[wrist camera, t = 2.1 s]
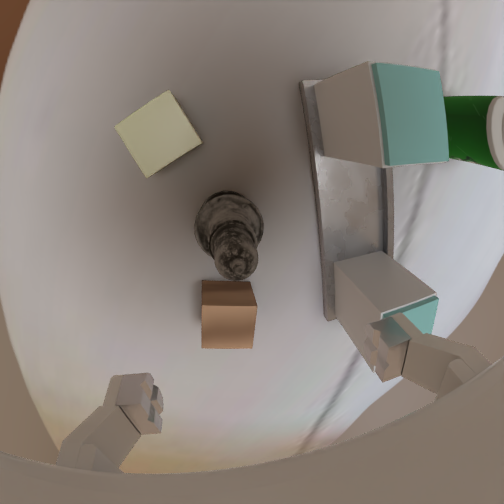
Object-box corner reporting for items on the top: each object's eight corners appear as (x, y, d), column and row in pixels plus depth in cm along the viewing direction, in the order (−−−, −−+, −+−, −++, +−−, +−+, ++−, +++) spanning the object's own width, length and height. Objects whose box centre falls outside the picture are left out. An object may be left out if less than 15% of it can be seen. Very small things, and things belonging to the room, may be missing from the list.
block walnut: (202, 280, 30) (201, 305, 25) (249, 281, 31) (257, 306, 26) (201, 319, 32) (201, 348, 27) (245, 320, 33) (252, 348, 28)
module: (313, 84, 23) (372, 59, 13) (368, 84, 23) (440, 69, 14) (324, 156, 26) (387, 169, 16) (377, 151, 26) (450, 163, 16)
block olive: (130, 128, 23) (114, 126, 19) (175, 98, 23) (168, 89, 18) (157, 171, 25) (146, 178, 21) (203, 142, 25) (201, 142, 20)
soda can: (420, 155, 28) (499, 172, 17) (417, 92, 25) (496, 88, 14) (459, 158, 29) (531, 176, 18) (457, 102, 26) (530, 105, 15)
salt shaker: (261, 191, 27) (298, 228, 16) (252, 249, 29) (278, 316, 18) (199, 184, 26) (192, 217, 15) (193, 244, 28) (185, 311, 17)
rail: (298, 82, 24) (306, 78, 22) (370, 81, 24) (381, 78, 22) (324, 315, 34) (330, 326, 32) (380, 299, 34) (389, 307, 32)
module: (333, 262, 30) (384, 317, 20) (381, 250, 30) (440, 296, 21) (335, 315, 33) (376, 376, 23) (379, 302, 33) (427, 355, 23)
